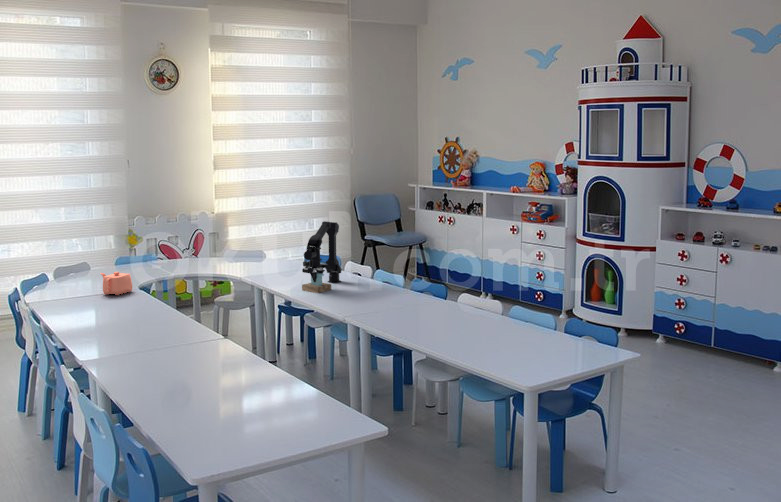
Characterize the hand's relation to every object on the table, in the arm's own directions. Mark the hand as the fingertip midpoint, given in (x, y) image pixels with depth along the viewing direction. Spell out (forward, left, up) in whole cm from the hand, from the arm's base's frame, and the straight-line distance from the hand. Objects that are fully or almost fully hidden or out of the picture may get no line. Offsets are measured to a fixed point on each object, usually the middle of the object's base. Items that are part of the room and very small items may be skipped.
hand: (316, 281), depth 485 cm
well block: (0, 0, -5) cm, 5 cm away
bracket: (0, 0, -2) cm, 3 cm away
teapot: (+82, -99, -6) cm, 129 cm away
